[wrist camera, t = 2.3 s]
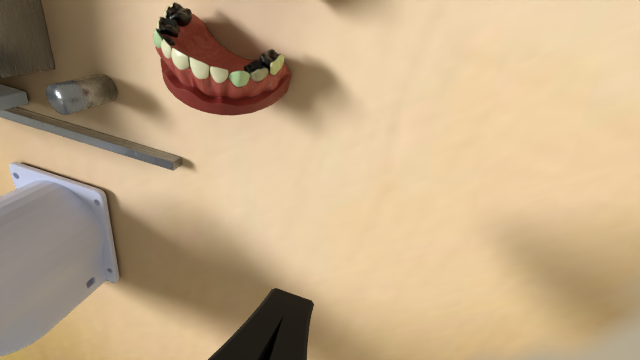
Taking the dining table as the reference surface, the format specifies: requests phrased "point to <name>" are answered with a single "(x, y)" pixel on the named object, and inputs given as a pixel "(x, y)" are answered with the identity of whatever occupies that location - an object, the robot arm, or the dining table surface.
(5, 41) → the pin seat
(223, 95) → the dentures
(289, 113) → the dining table surface
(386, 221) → the dining table surface
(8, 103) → the housing
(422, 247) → the dining table surface
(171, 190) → the dining table surface
